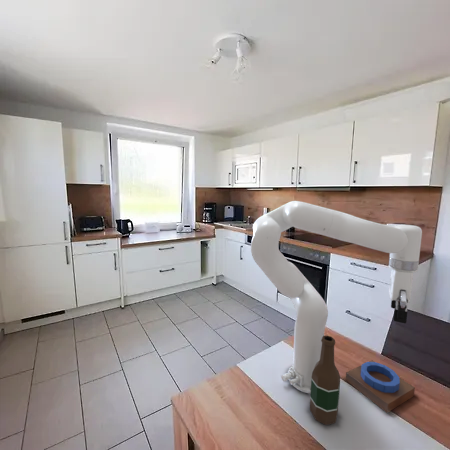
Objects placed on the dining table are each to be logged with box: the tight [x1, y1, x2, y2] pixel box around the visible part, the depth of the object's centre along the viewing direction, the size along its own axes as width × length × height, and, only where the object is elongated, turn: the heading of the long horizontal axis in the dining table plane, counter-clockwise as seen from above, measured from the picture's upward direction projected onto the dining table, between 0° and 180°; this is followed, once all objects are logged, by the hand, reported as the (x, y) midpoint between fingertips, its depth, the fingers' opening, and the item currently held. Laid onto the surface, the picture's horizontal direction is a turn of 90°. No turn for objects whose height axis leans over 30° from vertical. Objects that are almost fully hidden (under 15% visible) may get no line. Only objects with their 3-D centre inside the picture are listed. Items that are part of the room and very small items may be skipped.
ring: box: [361, 361, 400, 393], centre depth 80 cm, size 11×11×2 cm
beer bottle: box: [309, 335, 341, 426], centre depth 70 cm, size 8×8×24 cm
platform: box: [345, 359, 416, 414], centre depth 81 cm, size 14×14×3 cm
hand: (398, 314), depth 79 cm, fingers open, 9 cm apart
